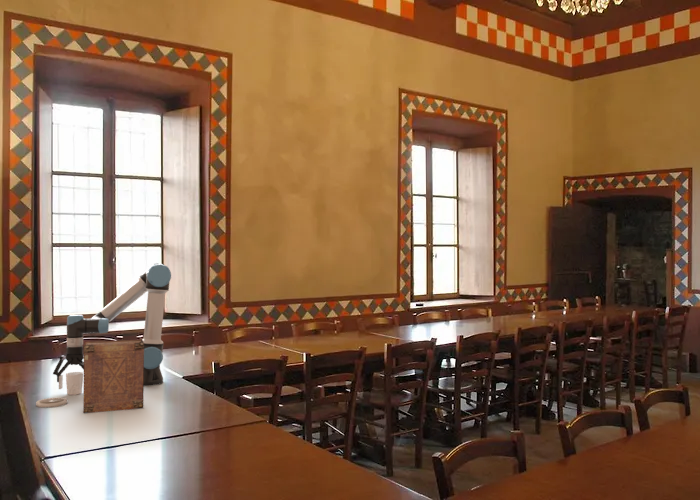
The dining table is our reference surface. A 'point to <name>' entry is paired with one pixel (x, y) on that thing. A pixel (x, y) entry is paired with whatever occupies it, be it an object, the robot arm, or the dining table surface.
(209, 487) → the dining table surface
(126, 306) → the robot arm
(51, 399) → the beige saucer
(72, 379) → the white cup
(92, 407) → the book
